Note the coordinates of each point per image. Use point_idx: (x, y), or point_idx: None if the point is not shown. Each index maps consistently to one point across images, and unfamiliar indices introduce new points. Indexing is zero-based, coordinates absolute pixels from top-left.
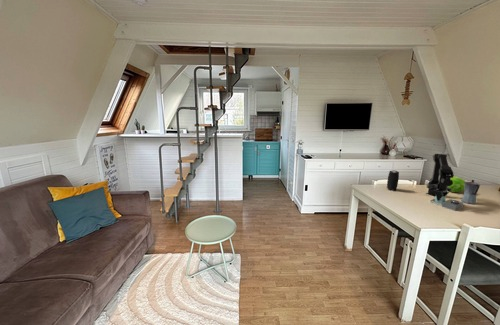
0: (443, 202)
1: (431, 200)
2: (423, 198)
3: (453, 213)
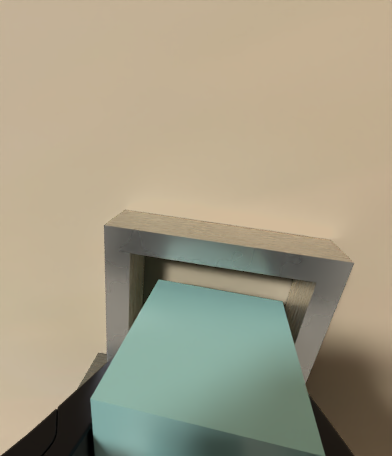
0: None
1: (112, 243)
2: (300, 19)
3: (3, 432)
